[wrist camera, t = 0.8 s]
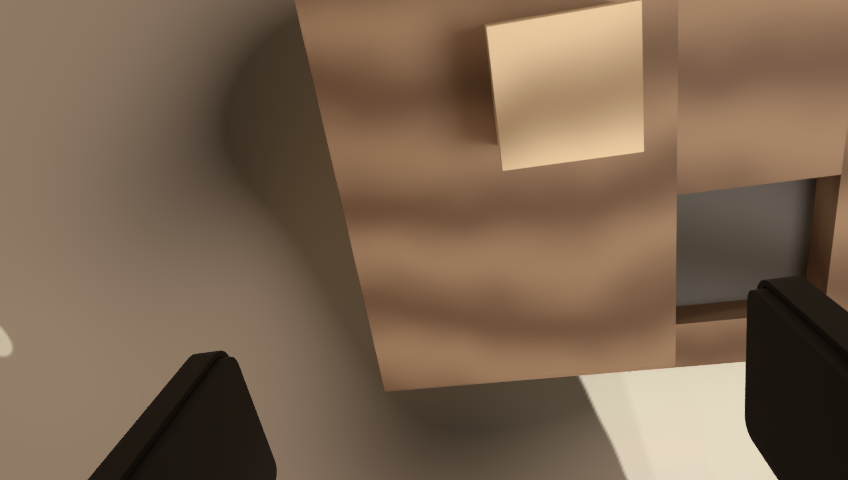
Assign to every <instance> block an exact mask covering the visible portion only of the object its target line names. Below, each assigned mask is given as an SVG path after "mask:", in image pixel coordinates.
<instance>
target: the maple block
mask: <svg viewBox="0 0 848 480" xmlns="http://www.w3.org/2000/svg"><path fill="white" fill-rule="evenodd" d="M484 28H485V37H486V45H487V54H488V63H489V71H490V80H491V89H492V97H493V106H494V115H495V124H496V132H497V141H498V148H499V153H500V159H501V164H502V169H503V171H506V170H514V169H521V168H529V167H536V166H543V165H551V164H558V163H565V162H573V161H580V160H587V159H595V158H602V157H609V156H617V155H624V154H631V153H639V152H644V113H643V44H642V0H637V1H620V2H609V3H603V4H597V5H592V6H586V7H580V8H574V9H569V10H563V11H557V12H551V13H545V14H540V15H534V16H528V17H522V18H517V19H511V20H505V21H499V22H494V23H488V24H484Z"/></svg>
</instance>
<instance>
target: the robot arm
mask: <svg viewBox="0 0 848 480" xmlns="http://www.w3.org/2000/svg"><path fill="white" fill-rule="evenodd" d="M745 422H746V427H747V430H748V433H749V435H750V437H751V439H752V441H753V442H754V444H755V445H756V447H757V448H758V450H759V451H760V453H761V454H762V456H763V457H764V459H765V460H766V462H767V463H768V465H769V466H770V468H771V469H772V471H773V473H774V474H775V476H776V477H777V479H778V480H848V311H846V310H845V309H844V308H842V307H841V306H840V305H839V304H837V303H836V302H835V301H833V300H832V299H831V298H830V297H828V296H827V295H826V294H825V293H823V292H822V291H821V290H819V289H818V288H817V287H816V286H814V285H813V284H812V283H810V282H809V281H808V280H807V279H805V278H804V277H802V276H800V275H799V276H789V277H781V278H774V279H766V280H761V281H760V282H759V284H758V286H757V289H755V290H750V291H749V293H748V295H747V329H746V384H745ZM276 473H277V470H276V463H275V460H274V457H273V455H272V452H271V449H270V447H269V444H268V441H267V439H266V436H265V434H264V431H263V428H262V425H261V423H260V420H259V417H258V415H257V412H256V410H255V407H254V404H253V401H252V399H251V396H250V393H249V391H248V388H247V385H246V383H245V380H244V377H243V375H242V372H241V369H240V367H239V364H238V362H237V360H236V359H235V358H234V357H229V356H228V354H227V353H226V352H224V351H215V352H207V353H199V354H194V355H192V356H191V357H189V358H188V360H187V361H186V362H185V363H184V364H183V366H182V367H181V368H180V369H179V371H178V372H177V373H176V374H175V375H174V376H173V378H172V379H171V380H170V381H169V382H168V384H167V385H166V386H165V387H164V388H163V390H162V391H161V392H160V393H159V395H158V396H157V397H156V398H155V399H154V400H153V402H152V403H151V404H150V405H149V406H148V408H147V409H146V410H145V411H144V413H143V414H142V415H141V416H140V417H139V419H138V420H137V421H136V422H135V423H134V425H133V426H132V427H131V428H130V429H129V431H128V432H127V433H126V434H125V435H124V437H123V438H122V439H121V440H120V441H119V443H118V444H117V445H116V446H115V447H114V449H113V450H112V451H111V452H110V453H109V455H108V456H107V457H106V458H105V459H104V461H103V462H102V463H101V465H100V466H99V467H98V468H97V469H96V470H95V472H94V473H93V474H92V475H91V477H90V478H89V479H88V480H276Z"/></svg>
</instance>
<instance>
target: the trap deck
mask: <svg viewBox="0 0 848 480" xmlns="http://www.w3.org/2000/svg"><path fill="white" fill-rule="evenodd" d="M294 1H295V6H296V10H297V14H298V19H299V23H300V27H301V32H302V36H303V40H304V44H305V48H306V53H307V57H308V61H309V66H310V70H311V75H312V79H313V83H314V88H315V92H316V96H317V100H318V105H319V109H320V113H321V117H322V122H323V126H324V131H325V135H326V139H327V144H328V148H329V152H330V156H331V161H332V165H333V169H334V174H335V178H336V182H337V187H338V191H339V195H340V199H341V204H342V208H343V213H344V217H345V221H346V226H347V230H348V234H349V238H350V243H351V247H352V251H353V256H354V260H355V264H356V268H357V273H358V277H359V281H360V286H361V290H362V294H363V299H364V303H365V307H366V311H367V316H368V320H369V325H370V329H371V333H372V338H373V342H374V346H375V350H376V355H377V359H378V363H379V368H380V372H381V376H382V380H383V385H384V389H385V391H396V390H409V389H421V388H433V387H445V386H456V385H468V384H481V383H493V382H505V381H516V380H529V379H541V378H553V377H565V376H577V375H589V374H601V373H613V372H625V371H637V370H649V369H661V368H673V367H685V366H697V365H709V364H721V363H733V362H745V361H746V329H747V295H748V293H749V291H750V290H755V289H757V286H758V284H759V282H760V281H761V280H766V279H774V278H781V277H789V276H799V275H800V276H802V277H804V278H805V279H807V280H808V281H809V282H810V283H812V284H813V285H814V286H816V287H817V288H818V289H819V290H821V291H822V292H823V293H825V294H826V295H827V296H828V297H830V298H831V299H832V300H833V301H835V302H836V303H837V304H839V305H840V306H841V307H842V308H844V309H845V310H846V311H848V0H642V44H643V113H644V152H639V153H631V154H624V155H617V156H609V157H602V158H595V159H587V160H580V161H573V162H565V163H558V164H551V165H543V166H536V167H529V168H521V169H514V170H506V171H503V169H502V164H501V159H500V153H499V148H498V141H497V132H496V124H495V115H494V106H493V97H492V89H491V80H490V71H489V63H488V54H487V45H486V37H485V28H484V24H488V23H494V22H499V21H505V20H511V19H517V18H522V17H528V16H534V15H540V14H545V13H551V12H557V11H563V10H569V9H574V8H580V7H586V6H592V5H597V4H603V3H609V2H620V1H637V0H294Z"/></svg>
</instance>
